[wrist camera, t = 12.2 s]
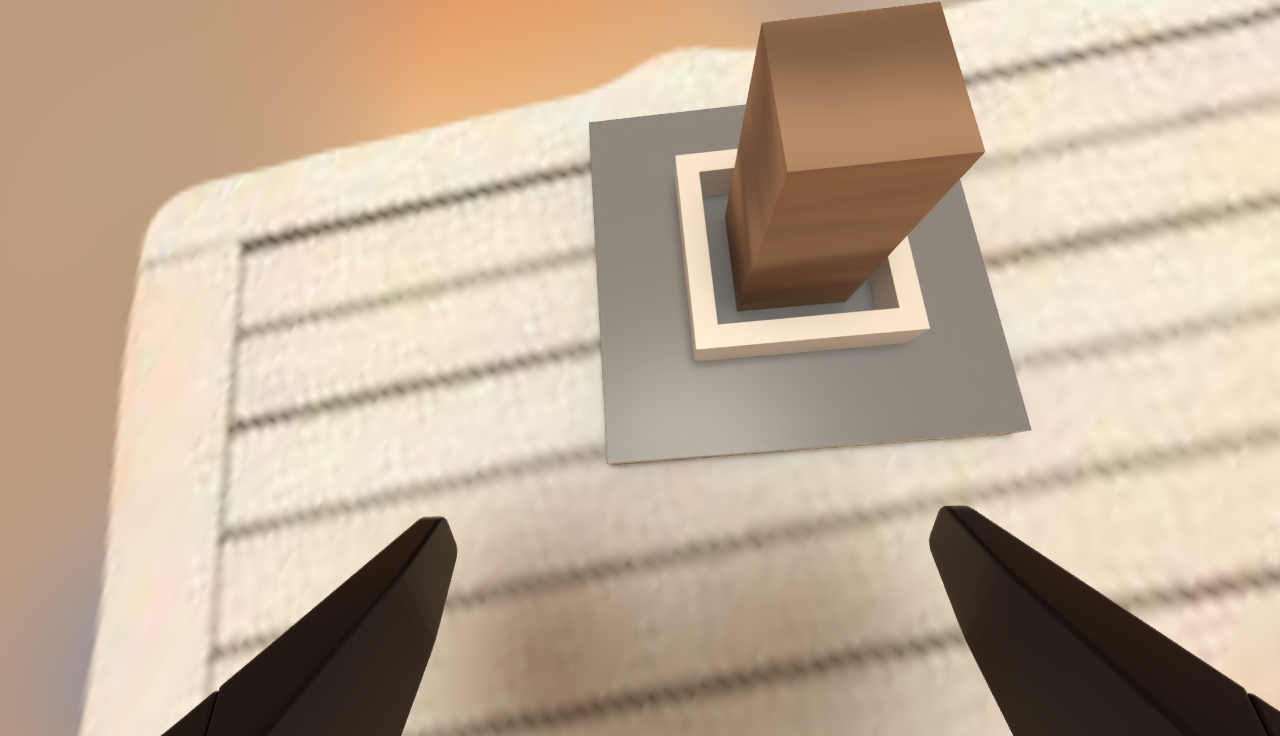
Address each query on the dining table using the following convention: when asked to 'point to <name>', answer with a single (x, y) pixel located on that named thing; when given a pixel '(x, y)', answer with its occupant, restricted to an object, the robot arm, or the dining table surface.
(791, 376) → the socket plate
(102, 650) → the dining table surface
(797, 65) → the walnut block
